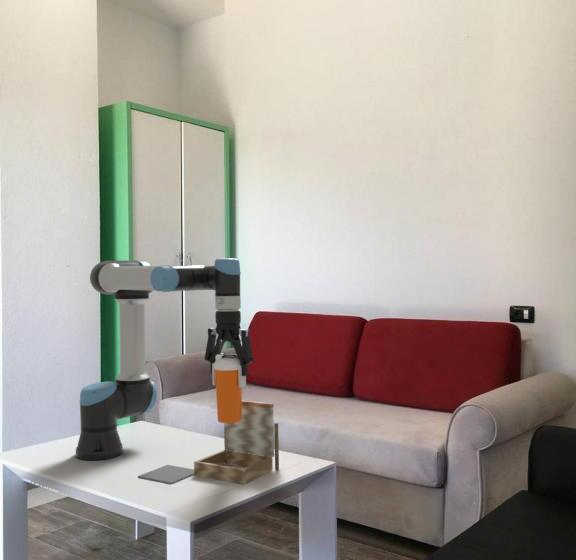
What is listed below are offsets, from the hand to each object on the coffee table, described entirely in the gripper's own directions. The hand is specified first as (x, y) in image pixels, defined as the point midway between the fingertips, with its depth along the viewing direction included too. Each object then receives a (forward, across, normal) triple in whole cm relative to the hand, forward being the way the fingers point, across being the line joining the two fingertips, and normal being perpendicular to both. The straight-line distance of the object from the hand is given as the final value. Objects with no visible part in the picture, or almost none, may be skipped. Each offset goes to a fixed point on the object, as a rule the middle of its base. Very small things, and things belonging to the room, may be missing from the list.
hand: (229, 385), depth 198 cm
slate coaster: (+26, -15, -10) cm, 32 cm away
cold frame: (+26, +2, +1) cm, 26 cm away
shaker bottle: (+11, 0, 0) cm, 11 cm away
